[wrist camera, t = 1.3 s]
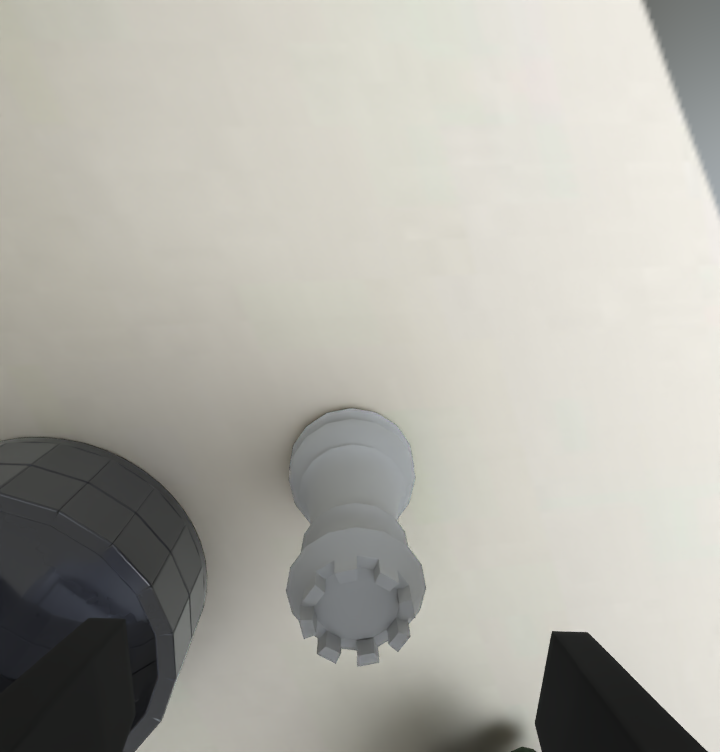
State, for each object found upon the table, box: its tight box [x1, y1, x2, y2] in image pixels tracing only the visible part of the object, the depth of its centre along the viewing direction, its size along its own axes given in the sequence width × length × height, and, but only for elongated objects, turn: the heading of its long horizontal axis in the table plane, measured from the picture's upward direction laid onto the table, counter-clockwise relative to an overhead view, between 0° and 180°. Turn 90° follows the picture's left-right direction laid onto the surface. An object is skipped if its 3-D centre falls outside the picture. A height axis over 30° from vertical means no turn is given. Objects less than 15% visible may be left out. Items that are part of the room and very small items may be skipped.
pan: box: [0, 437, 207, 752], centre depth 18 cm, size 11×11×4 cm
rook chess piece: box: [286, 408, 426, 666], centre depth 15 cm, size 4×4×8 cm
